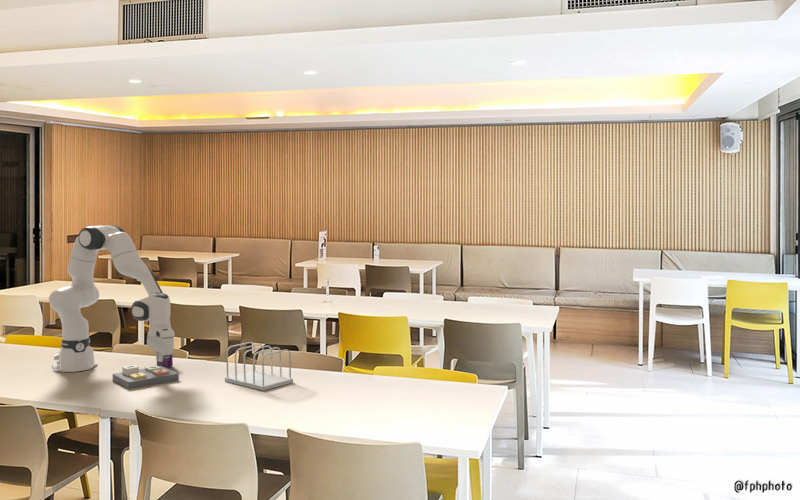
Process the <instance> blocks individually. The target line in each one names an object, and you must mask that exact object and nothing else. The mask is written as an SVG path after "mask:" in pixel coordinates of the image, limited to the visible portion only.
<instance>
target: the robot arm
mask: <svg viewBox="0 0 800 500" xmlns="http://www.w3.org/2000/svg"><path fill="white" fill-rule="evenodd" d="M104 250H107V251H108V252H109V254H110V257H111V260H112V263H113V266H114V268H115V269H116V271H117V272H118V273H119V274H120V275H123V276H125V277H129V278H133V279H135V280H138V281H139V282H140V283H141V284H142V286H143V287H144V289H145V291H146V293H147V295H148V296H147V297H144V298H141V299H137V300H135V301H134V302H133V303H132V305H131V308H130V311H131V312H130V313H131V316H132V318H133V319H134V320H136V321H137V322H145V321H148V323H149V324H148V331H147V337H146V347H148V348H149V349H152V350H153V351H154V354H155V360H156V362H157V361H159V362H162V361H163V356H164V355H171V354H172V355H173V354H174V350H175V348H174V346H175V345H174V344H175V343H174V341H175V339H174V337H175V335H176V334H175V331H174V330H173V328H172V326H171V315H172V314H171V300H170V296H169V295H168V294H167V293H164V292H163V290H162V289H161V287H160V285H159V283H158V281H157V279H156V277H155V275H154V273H153V272H152V270H151V268H150V267H149V266H148V265H147V264H146V263H145V262H144V261H143V260H142V259H141V258H142V257H141V256H140V254H139V252H138V250H137V247H136V245H135V243H134V242H133V240H132V238H131V236H130V235H129V234H128V233H127V232H126V231H125V230H124V229H123V228H122V227H120V226H118V225H104V224H101V225H94V226H93V225H89V226H86V227H83V228H82V229H80V231H79V233H78V236H77V237H76V238H75V240H74V243H73V246H72V248H71V252H70V255H69V260H68V266H67V269H66V270H67V274H68V275H69V276H70V277H71V285H69V286H63V287H59V288H57V289H55V290H53V291H52V292H50V294H49V296H48V304H49V306H50V307H51V309H53V310H54V311H55V312H56V313H57V315H58V317H59V319H60V323H61V331H62V333H61V334H62V338H61V342H60V344H61V345H60V349H59V350H58V352H57V353H56V354H55V355H54V356H53V357H54V358H53V360H54V361H56V362H52V364H51V366H52V369H53V371H54V372H55V373H56V372H64V373H65V372H66V373H70V372H71V373H72V372H73V373H74V372H81V371H87V370H91V369H93V368H95V367H97V366H98V362H95V354H94V348H92V347H91V346H90V345H91V338H90V336H89V335H90V333H89V332H90V331H89V328H90V327H89V321H88V319H86V318H85V317H84V316H83V314H82V311H81V309H82V308H86V307H87V308H88V307H90V306H92V305H94V304H95V303H97V302H98V301H99V298H100V293H99V291H100V290H99V289H98V288H97V286H96V285H95V281H94V275H95V268H96V262H97V259H98V254H99V251H104Z"/></svg>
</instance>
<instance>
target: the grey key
mask: <svg viewBox="0 0 800 500" xmlns="http://www.w3.org/2000/svg"><path fill="white" fill-rule="evenodd" d="M139 369H140V367H139V366H138V365H136V364H131V365H130V364H129V365H125V366H122V370H121V371H122V374H124V375H126V376H130V374H136V373H139Z"/></svg>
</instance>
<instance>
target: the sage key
mask: <svg viewBox="0 0 800 500" xmlns="http://www.w3.org/2000/svg"><path fill="white" fill-rule="evenodd" d="M144 369H145V371H147V372H152V371H154V370H160V369H161V367H159V366H157V365H153V366H152V365H150V366H146V367H144Z"/></svg>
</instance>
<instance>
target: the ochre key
mask: <svg viewBox="0 0 800 500" xmlns="http://www.w3.org/2000/svg"><path fill="white" fill-rule="evenodd" d="M130 378H131V379H133V380H137V379H143V378H146V375H145V374H143V373H136V374H130Z"/></svg>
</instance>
